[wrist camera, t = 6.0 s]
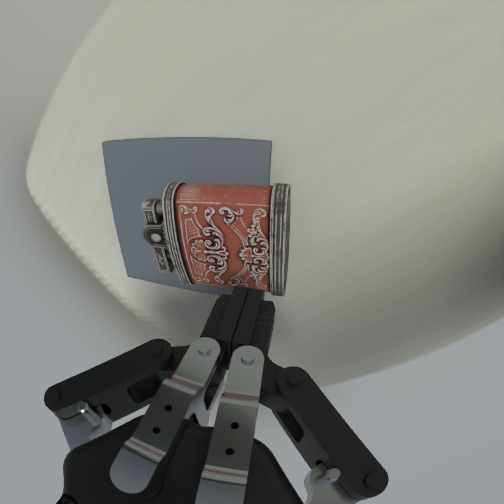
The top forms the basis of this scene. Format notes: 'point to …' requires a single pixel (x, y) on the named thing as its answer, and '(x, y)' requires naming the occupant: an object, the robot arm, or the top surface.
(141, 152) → the mat
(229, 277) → the lighter
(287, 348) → the top surface
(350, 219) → the top surface
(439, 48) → the top surface
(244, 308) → the robot arm
